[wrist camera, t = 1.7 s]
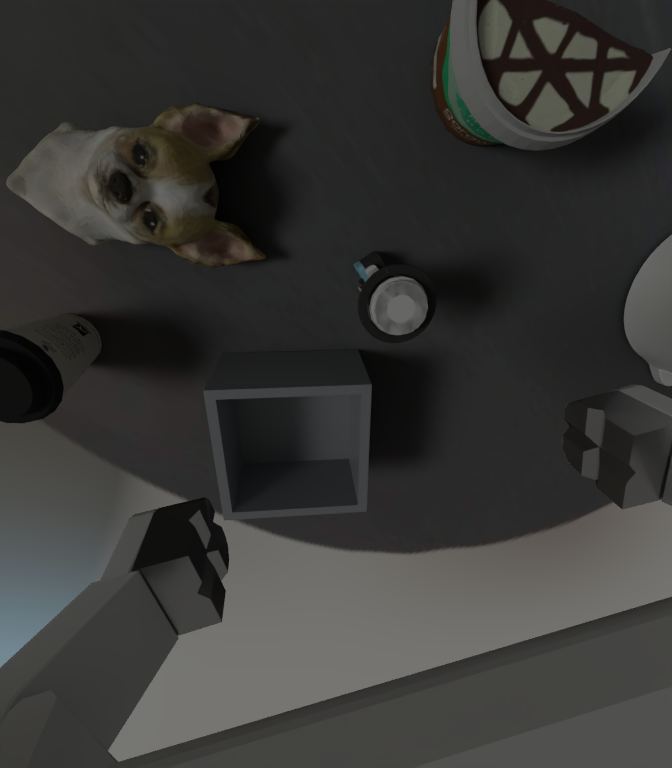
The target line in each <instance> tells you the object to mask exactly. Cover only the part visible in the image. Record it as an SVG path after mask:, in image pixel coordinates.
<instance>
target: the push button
mask: <svg viewBox="0 0 672 768" xmlns="http://www.w3.org/2000/svg"><path fill="white" fill-rule="evenodd" d="M354 267H355V269H356V270H357V271H358V273H359V275H360V277H361V278H362V279H360V280H359V283H360V285H361V287H362V289H360V288H359V286H358V288H359V290H360V295H359V299H358V313H359V317H360V320H361V322H362V324H363V326H364V327H365V329H366V330H367V331H368V332H369V333H370V334H371V335H372V336H373V337H375V338H376V339H378V340H381V341H383V342H388V343H400V342H405V341H408V340H410V339H412V338H414V337H416V336H418V335H419V334H420V333H421V332H422V331H424V330H425V328H426V327H427V326H428V325H429V323H430V321H431V320H432V318H433V315H434V312H435V308H436V293H435V289H434V286H433V284H432V282H431V280H430V279H429V278H428V276H427V275H426V274H425V273H423V272H422V271H421V270H419V269H417V268H415V267H413V266H410V265H406V264H393V265H389V266H385V264H384V262H383V260H382V258H381V256H380V255H379V254H378V253H376V252H375V251H374V252H372V253H371V254H369V255H368V256H366V257H365V258H363V259H361V260H360V261H358V262H357V263H355V264H354ZM395 274H406V275H410V276H412V277H413V278H414V279H415V280H416V281H415V280H414V279H412V278H407V277H404V276H399V275H395ZM367 302H368V306H369V310H370V314H371V318H372V321H373V322H372V321H371V320H370V319H369V316H368V312H367Z"/></svg>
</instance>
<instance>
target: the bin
mask: <svg viewBox="0 0 672 768" xmlns="http://www.w3.org/2000/svg"><path fill="white" fill-rule="evenodd" d="M203 392H204V398H205V405H206V411H207V417H208V423H209V430H210V436H211V442H212V448H213V455H214V461H215V467H216V474H217V480H218V486H219V492H220V499H221V505H222V511H223V517H224V520H236V519H253V518H269V517H285V516H301V515H318V514H334V513H350V512H366V511H367V487H368V464H369V440H370V416H371V393H372V384H371V381H370V379H369V376H368V374H367V371H366V369H365V366H364V364H363V361H362V359H361V356H360V354H359V351H358V349H353V350H319V351H285V352H250V353H223V354H222V356H221V358H220V360H219V362H218V363H217V365H216V367H215V369H214V371H213V373H212V375H211V377H210V379H209V381H208V382H207V384H206V386H205V388H204V390H203Z"/></svg>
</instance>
